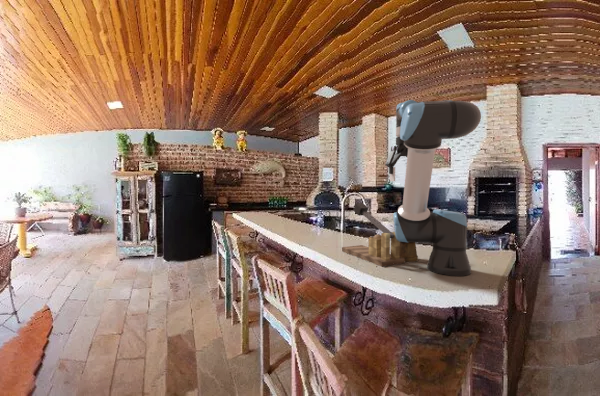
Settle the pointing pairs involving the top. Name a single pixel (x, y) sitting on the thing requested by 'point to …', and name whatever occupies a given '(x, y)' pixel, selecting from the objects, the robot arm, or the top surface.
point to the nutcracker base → (378, 251)
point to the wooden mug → (408, 251)
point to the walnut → (377, 236)
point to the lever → (370, 217)
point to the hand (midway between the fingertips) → (403, 181)
